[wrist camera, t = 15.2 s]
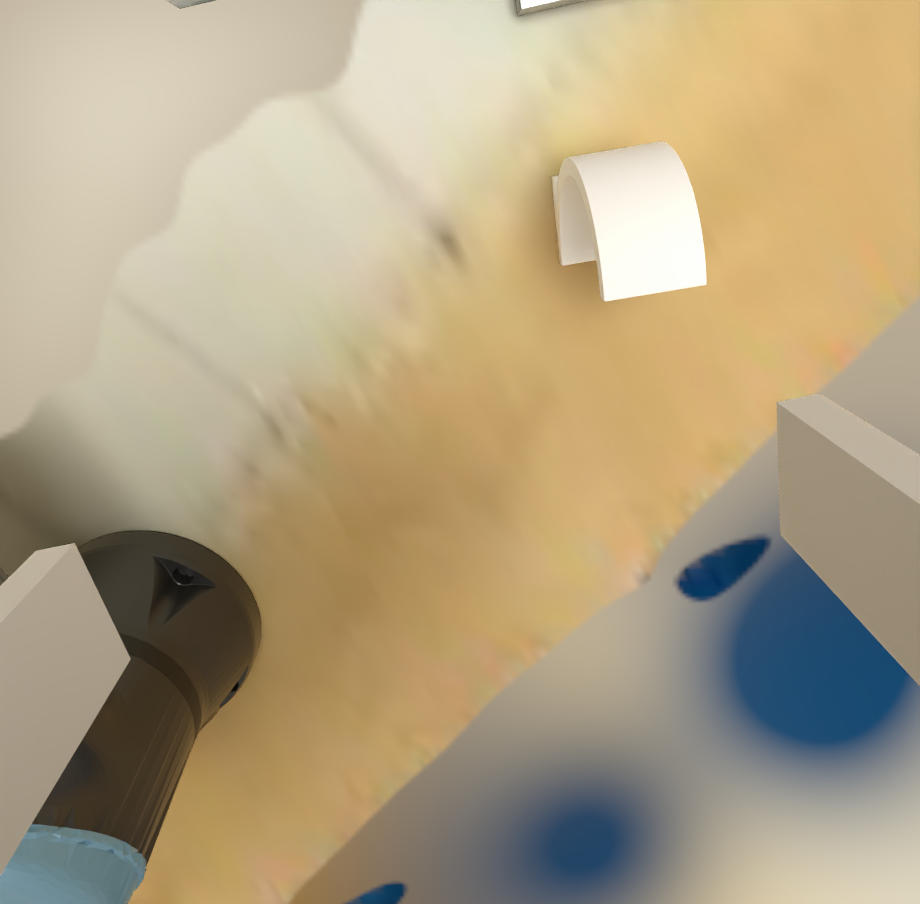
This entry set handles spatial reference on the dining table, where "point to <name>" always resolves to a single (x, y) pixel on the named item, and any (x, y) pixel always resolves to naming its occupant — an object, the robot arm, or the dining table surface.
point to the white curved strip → (630, 220)
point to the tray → (187, 2)
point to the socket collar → (540, 5)
